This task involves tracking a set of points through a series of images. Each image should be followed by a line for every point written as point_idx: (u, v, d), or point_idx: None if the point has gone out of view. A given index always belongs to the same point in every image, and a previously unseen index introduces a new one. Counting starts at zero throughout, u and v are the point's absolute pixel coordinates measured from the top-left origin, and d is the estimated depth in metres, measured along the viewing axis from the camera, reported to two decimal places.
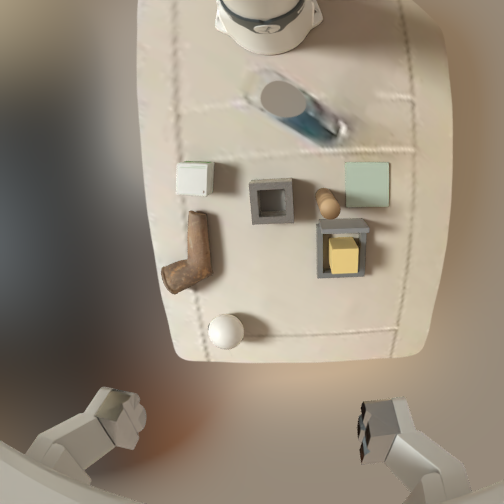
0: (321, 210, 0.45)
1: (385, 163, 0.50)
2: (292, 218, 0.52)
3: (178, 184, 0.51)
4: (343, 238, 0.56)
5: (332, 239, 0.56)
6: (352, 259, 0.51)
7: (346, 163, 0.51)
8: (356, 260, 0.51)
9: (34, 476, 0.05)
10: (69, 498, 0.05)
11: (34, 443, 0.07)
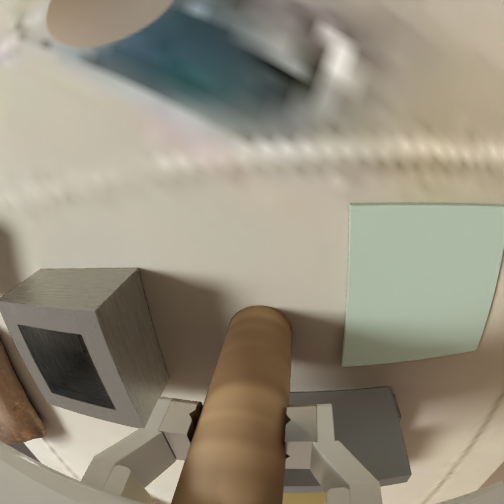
0: None
1: (499, 209, 0.11)
2: (136, 419, 0.13)
3: None
4: None
5: None
6: None
7: (355, 210, 0.12)
8: None
9: (34, 476, 0.05)
10: (69, 498, 0.05)
11: (90, 467, 0.06)
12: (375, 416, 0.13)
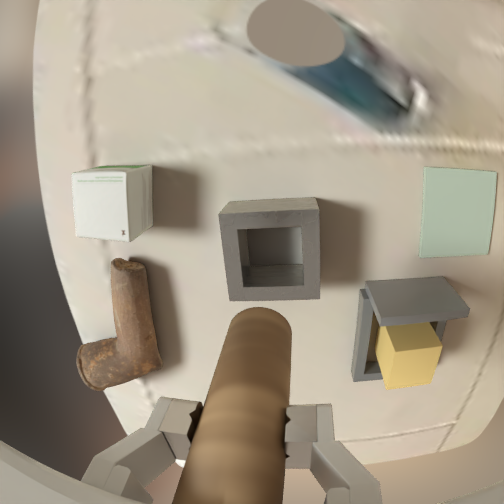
0: None
1: (491, 173, 0.21)
2: (317, 290, 0.23)
3: (77, 217, 0.23)
4: None
5: None
6: (427, 364, 0.23)
7: (427, 169, 0.22)
8: (434, 365, 0.23)
9: (34, 476, 0.05)
10: (69, 498, 0.05)
11: (90, 467, 0.06)
12: (440, 287, 0.24)
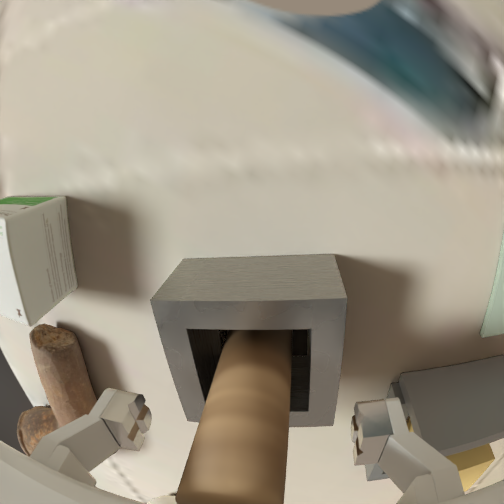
0: None
1: None
2: (330, 416, 0.12)
3: None
4: None
5: None
6: (470, 478, 0.12)
7: None
8: (477, 476, 0.12)
9: (34, 476, 0.05)
10: (69, 498, 0.05)
11: (38, 445, 0.07)
12: (503, 377, 0.13)
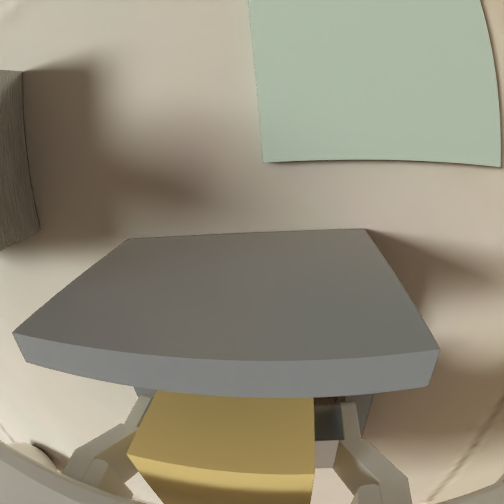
0: None
1: None
2: None
3: None
4: None
5: None
6: (272, 503, 0.06)
7: None
8: None
9: (34, 476, 0.05)
10: (69, 498, 0.05)
11: (71, 459, 0.07)
12: (336, 254, 0.08)
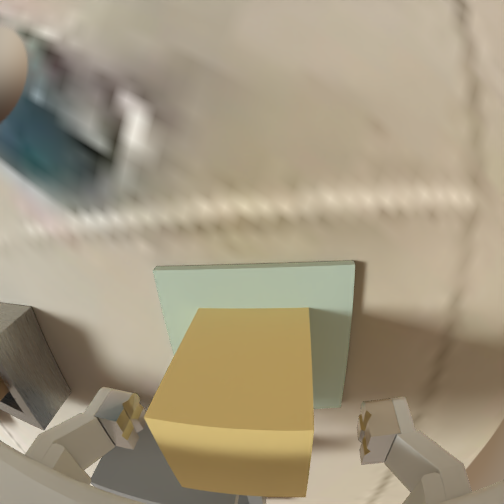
0: None
1: (338, 268, 0.12)
2: (36, 421, 0.14)
3: None
4: (261, 317, 0.12)
5: (206, 322, 0.12)
6: (275, 466, 0.07)
7: (157, 274, 0.13)
8: (299, 469, 0.07)
9: (34, 476, 0.05)
10: (69, 498, 0.05)
11: (34, 443, 0.07)
12: None
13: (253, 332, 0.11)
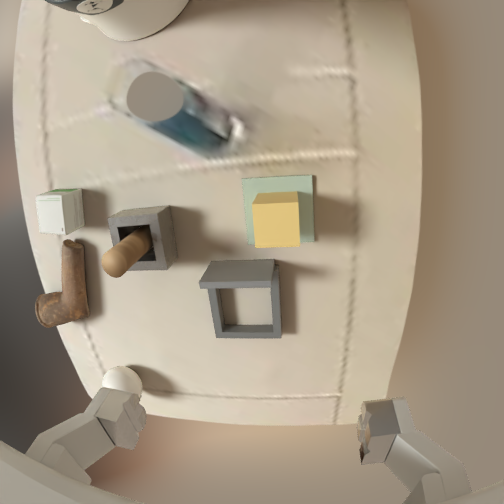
0: (103, 265, 0.31)
1: (306, 176, 0.35)
2: (164, 264, 0.37)
3: (39, 221, 0.36)
4: (281, 193, 0.35)
5: (262, 194, 0.35)
6: (289, 222, 0.31)
7: (243, 180, 0.36)
8: (296, 224, 0.31)
9: (34, 476, 0.05)
10: (69, 498, 0.05)
11: (34, 443, 0.07)
12: (263, 266, 0.37)
13: (279, 194, 0.34)
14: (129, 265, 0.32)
